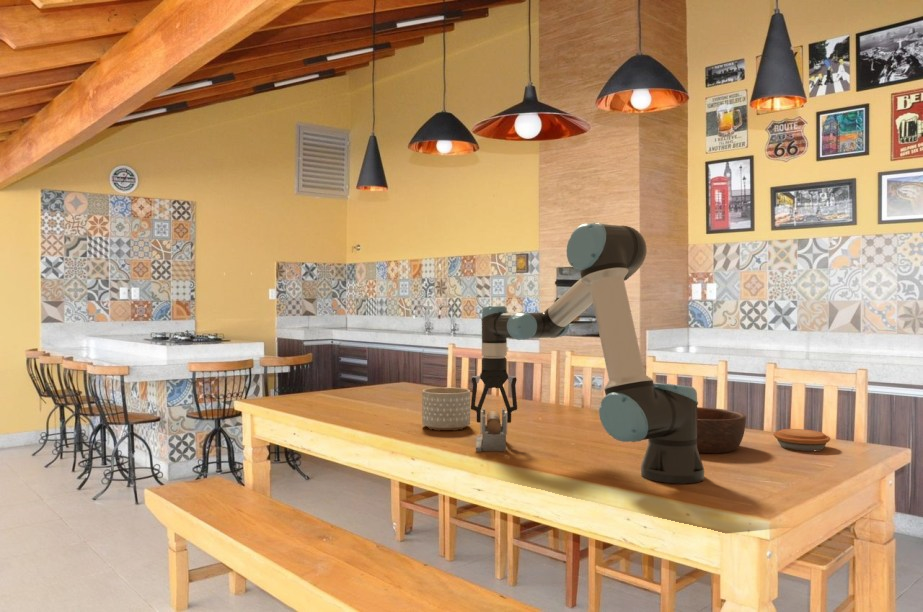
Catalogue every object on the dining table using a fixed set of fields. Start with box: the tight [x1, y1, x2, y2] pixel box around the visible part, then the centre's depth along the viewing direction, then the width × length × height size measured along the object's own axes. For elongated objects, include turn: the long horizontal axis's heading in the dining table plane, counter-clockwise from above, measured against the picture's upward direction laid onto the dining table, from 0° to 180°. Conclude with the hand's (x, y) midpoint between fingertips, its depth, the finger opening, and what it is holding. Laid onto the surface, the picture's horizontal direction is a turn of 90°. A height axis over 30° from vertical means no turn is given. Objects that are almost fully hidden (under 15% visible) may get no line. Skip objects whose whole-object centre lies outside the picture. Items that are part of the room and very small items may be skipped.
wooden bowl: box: [697, 406, 747, 454], centre depth 216 cm, size 25×25×10 cm
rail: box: [486, 410, 502, 435], centre depth 217 cm, size 19×4×4 cm, turn 178°
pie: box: [772, 428, 831, 452], centre depth 216 cm, size 15×16×5 cm
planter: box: [421, 387, 471, 431], centre depth 247 cm, size 16×16×13 cm
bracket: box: [475, 407, 507, 453], centre depth 217 cm, size 19×9×10 cm, turn 178°
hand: (493, 433), depth 217 cm, fingers open, 7 cm apart
